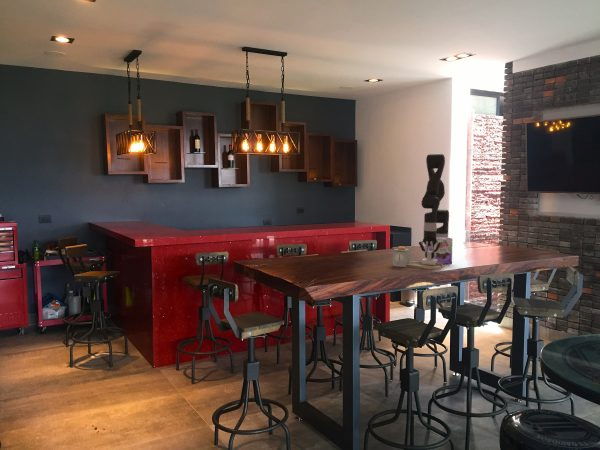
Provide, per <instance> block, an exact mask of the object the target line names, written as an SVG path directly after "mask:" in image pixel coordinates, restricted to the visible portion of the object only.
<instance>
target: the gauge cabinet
mask: <svg viewBox="0 0 600 450" xmlns="http://www.w3.org/2000/svg"><path fill="white" fill-rule="evenodd" d="M392 254H393V255H392V257H393V258H392V266H393V267H398V268H399V267H403V268H407V267H406V264H408V261H411V248H406V250H397V248H394V249H393V250H392Z"/></svg>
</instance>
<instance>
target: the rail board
mask: <svg viewBox="0 0 600 450" xmlns="http://www.w3.org/2000/svg"><path fill="white" fill-rule="evenodd" d="M405 268H415V269H425V270H428V269H430V270H441V269H443V268H444V264H442V263H436V265H427V264H422V262H421V261H415V260H410V261H408V264H406V267H405Z"/></svg>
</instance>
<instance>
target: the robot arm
mask: <svg viewBox="0 0 600 450" xmlns="http://www.w3.org/2000/svg"><path fill="white" fill-rule="evenodd" d="M425 163H426V169H427V173H428V174H427V175H428V181H427V185H426V191H425V193H424V195H423V197H422V200H421V207H422V209H431V211H429V212H426V213H425V212H424V216H423V217H424V219H423V221H424V222H423V239H422V240H421V241H418V245H419V247H420V250H421V251H422V252H424V257H425V258H427V251H429V246H430V247H431V250H432V253H431V259H433V258H434V252H436V251H438V249H439V247H440V245H441V242H438V241H437V239H436V238H449V222H450V212H449V210H448V209H439V207H440V203H441V201H442V200H443V198H444V197H445V194H446V192H445V184H444V182H443V180H442V179H441V178H442V175H443V172H444V168H445V164H446V157H445V154H443V153H429V154H427V155H426V159H425ZM436 169H437V170H436ZM435 170H436V171H435ZM437 224H442V226H439V227H438V226H437ZM436 243H437V247H436V249H435V250H434V245H435V244H436ZM424 245H425V246H424Z"/></svg>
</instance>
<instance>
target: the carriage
mask: <svg viewBox="0 0 600 450" xmlns="http://www.w3.org/2000/svg"><path fill="white" fill-rule="evenodd" d="M431 253H432V251H429V250H428V251H427V258H426V257H425V258H423V259H421V261H420V262H422V264H427V265H436V263H437V262H438V259H431Z"/></svg>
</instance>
